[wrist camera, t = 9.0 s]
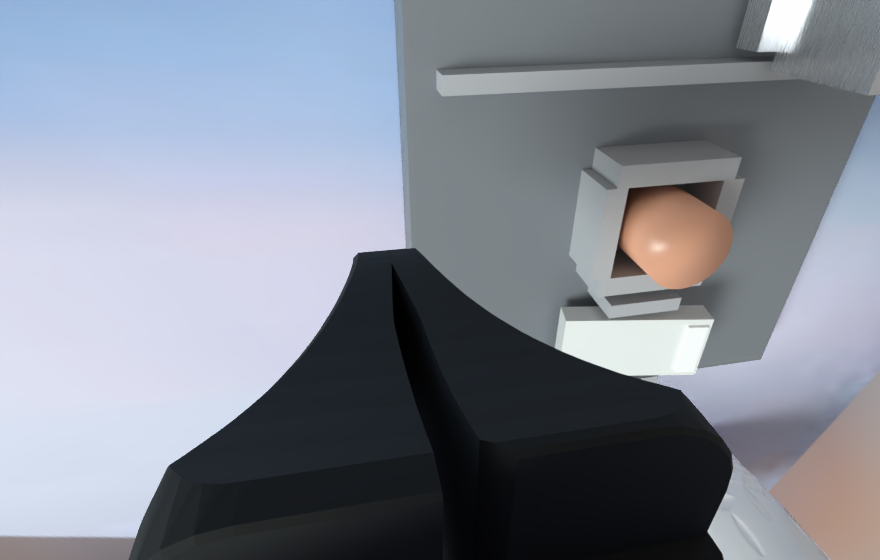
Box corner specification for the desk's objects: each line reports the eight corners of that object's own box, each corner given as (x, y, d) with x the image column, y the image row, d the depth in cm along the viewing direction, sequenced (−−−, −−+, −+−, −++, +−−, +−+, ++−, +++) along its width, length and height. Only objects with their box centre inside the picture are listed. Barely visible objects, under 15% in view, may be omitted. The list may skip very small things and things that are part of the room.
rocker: (685, 359, 23) (696, 377, 22) (552, 361, 23) (558, 378, 22) (702, 305, 21) (716, 321, 20) (560, 306, 21) (567, 323, 20)
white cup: (750, 441, 34) (887, 597, 26) (666, 510, 37) (765, 672, 28) (678, 407, 30) (810, 574, 22) (592, 487, 33) (680, 662, 25)
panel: (734, 335, 28) (789, 386, 25) (412, 379, 25) (425, 442, 22) (893, -75, 18) (1022, -84, 15) (390, -78, 15) (408, -89, 12)
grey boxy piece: (792, 64, 18) (921, 92, 14) (730, 66, 17) (845, 96, 13) (834, -60, 16) (998, -68, 12) (766, -61, 15) (912, -68, 12)
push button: (670, 245, 21) (718, 284, 18) (601, 252, 20) (640, 293, 18) (689, 174, 19) (744, 206, 16) (615, 180, 18) (660, 214, 16)
